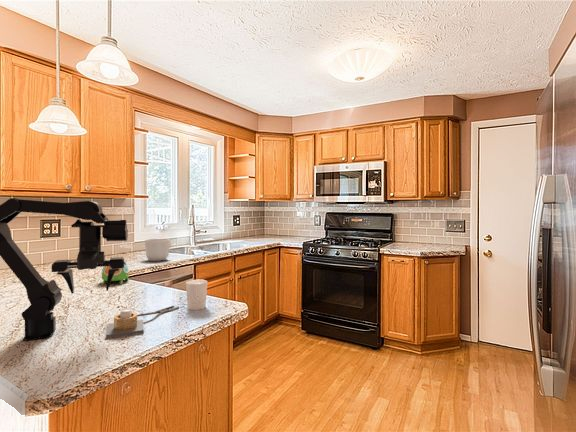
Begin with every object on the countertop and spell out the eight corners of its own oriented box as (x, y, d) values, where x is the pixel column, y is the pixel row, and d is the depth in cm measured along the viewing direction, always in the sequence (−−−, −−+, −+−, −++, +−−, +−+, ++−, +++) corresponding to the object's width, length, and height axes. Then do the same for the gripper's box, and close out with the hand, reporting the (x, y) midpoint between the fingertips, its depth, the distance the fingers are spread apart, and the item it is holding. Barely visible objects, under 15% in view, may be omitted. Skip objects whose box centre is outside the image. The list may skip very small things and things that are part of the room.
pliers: (118, 320, 107) (159, 303, 126) (118, 323, 107) (159, 306, 126) (142, 323, 104) (180, 306, 123) (142, 326, 104) (180, 308, 123)
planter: (174, 260, 233) (174, 239, 233) (150, 263, 221) (150, 241, 221) (163, 258, 245) (163, 238, 245) (140, 260, 233) (140, 239, 233)
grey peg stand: (106, 338, 93) (106, 318, 93) (108, 326, 103) (108, 308, 102) (143, 333, 98) (143, 313, 98) (143, 322, 107) (143, 304, 107)
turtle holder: (133, 276, 177) (133, 255, 177) (125, 284, 160) (125, 260, 159) (108, 277, 174) (108, 256, 174) (97, 285, 156) (97, 261, 156)
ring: (113, 332, 96) (113, 320, 96) (114, 324, 102) (114, 314, 101) (137, 328, 99) (137, 317, 98) (137, 322, 104) (137, 311, 104)
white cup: (198, 311, 119) (199, 284, 119) (181, 309, 122) (181, 283, 121) (211, 305, 126) (211, 280, 126) (194, 303, 129) (194, 278, 129)
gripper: (46, 245, 88) (46, 302, 88) (123, 243, 96) (123, 295, 96) (55, 241, 98) (56, 292, 98) (124, 239, 106) (124, 286, 106)
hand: (90, 291), depth 99 cm, fingers open, 9 cm apart
